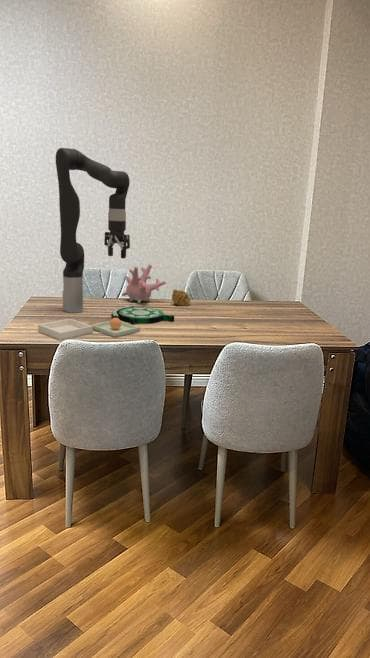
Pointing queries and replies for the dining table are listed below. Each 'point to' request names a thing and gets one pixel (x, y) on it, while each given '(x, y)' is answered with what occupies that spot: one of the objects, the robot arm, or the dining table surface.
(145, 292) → the toy
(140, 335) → the dining table surface
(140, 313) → the emblem
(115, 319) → the ball
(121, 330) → the tray
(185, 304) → the rock
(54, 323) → the cream square dish
